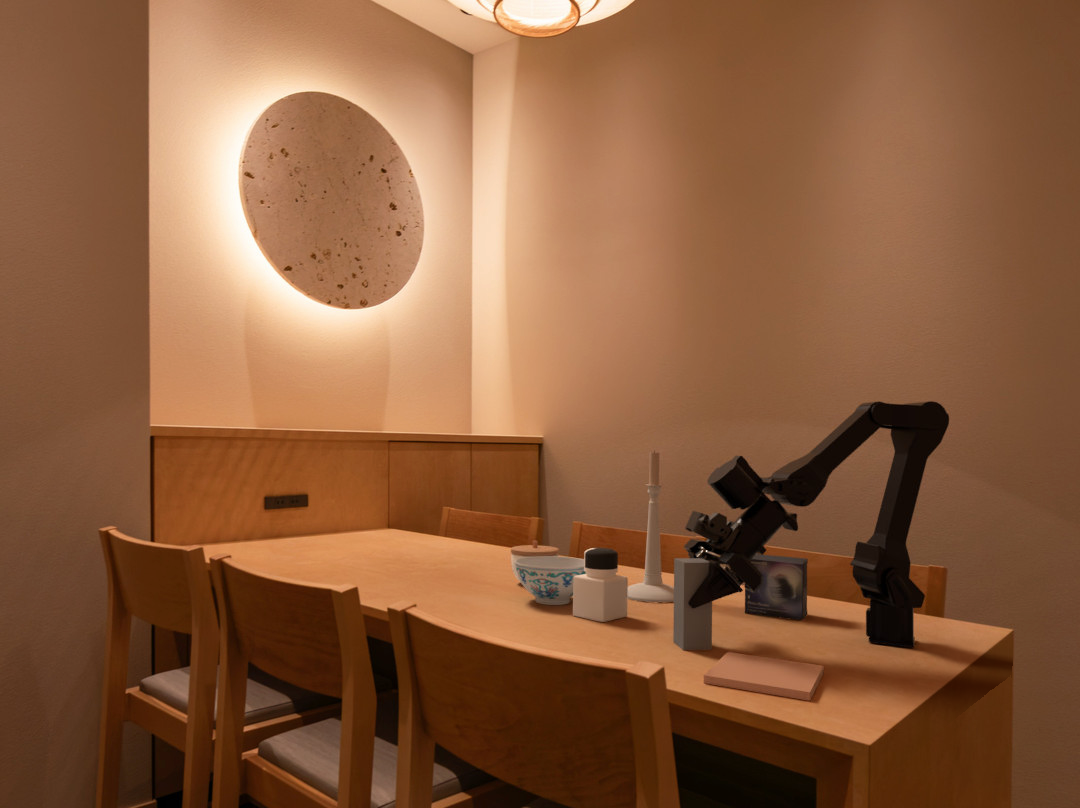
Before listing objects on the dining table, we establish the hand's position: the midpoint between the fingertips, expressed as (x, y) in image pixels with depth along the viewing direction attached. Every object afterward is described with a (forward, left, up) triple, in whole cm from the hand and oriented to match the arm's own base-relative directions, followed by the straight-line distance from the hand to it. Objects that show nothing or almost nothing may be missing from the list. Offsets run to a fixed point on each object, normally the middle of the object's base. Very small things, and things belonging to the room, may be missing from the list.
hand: (684, 602), depth 115 cm
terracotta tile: (-14, +10, -7) cm, 19 cm away
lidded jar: (+44, -34, -7) cm, 56 cm away
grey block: (-1, -1, -7) cm, 7 cm away
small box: (-8, -32, -7) cm, 34 cm away
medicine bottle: (+19, -12, -7) cm, 23 cm away
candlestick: (+17, -35, -7) cm, 39 cm away
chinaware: (+32, -19, -7) cm, 38 cm away
